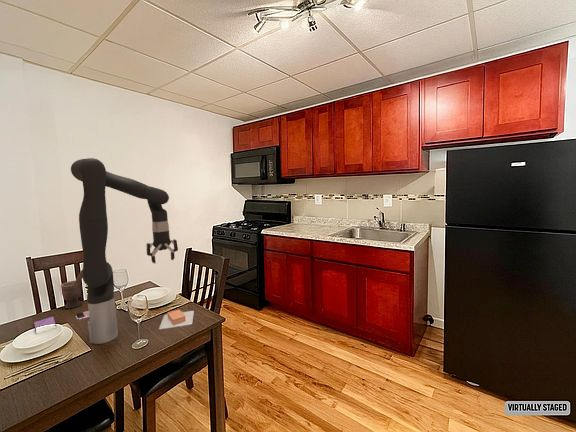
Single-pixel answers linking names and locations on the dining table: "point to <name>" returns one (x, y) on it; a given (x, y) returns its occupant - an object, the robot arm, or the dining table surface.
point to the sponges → (44, 322)
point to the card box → (176, 317)
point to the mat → (168, 324)
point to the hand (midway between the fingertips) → (163, 261)
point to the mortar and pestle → (72, 292)
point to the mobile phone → (82, 315)
